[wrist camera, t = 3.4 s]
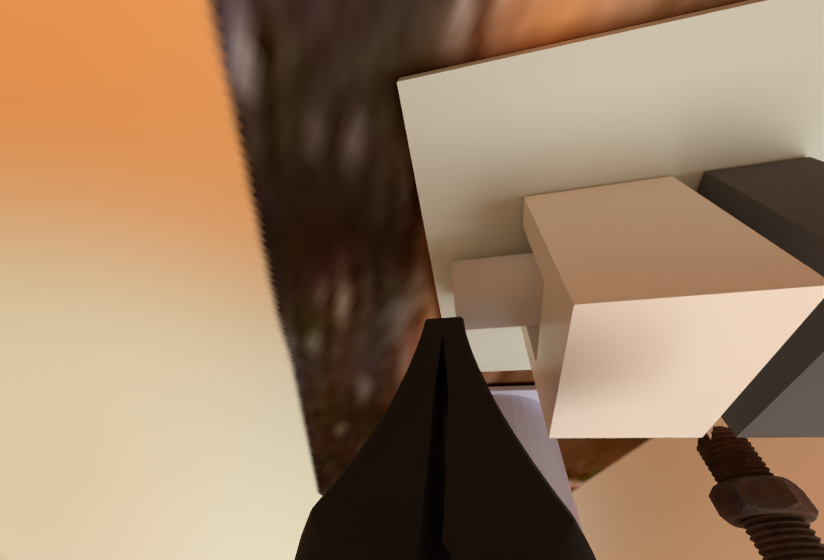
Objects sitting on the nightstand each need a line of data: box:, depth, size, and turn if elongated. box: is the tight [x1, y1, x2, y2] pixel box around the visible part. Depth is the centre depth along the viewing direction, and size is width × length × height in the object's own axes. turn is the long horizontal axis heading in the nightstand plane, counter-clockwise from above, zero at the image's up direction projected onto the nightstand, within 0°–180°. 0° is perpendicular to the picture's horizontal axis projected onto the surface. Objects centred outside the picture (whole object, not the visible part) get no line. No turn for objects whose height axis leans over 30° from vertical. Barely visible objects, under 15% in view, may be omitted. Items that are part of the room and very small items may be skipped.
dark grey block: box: [697, 157, 824, 438], centre depth 10 cm, size 7×3×6 cm, turn 11°
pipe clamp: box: [397, 0, 824, 372], centre depth 11 cm, size 16×26×6 cm, turn 101°
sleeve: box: [521, 176, 824, 438], centre depth 11 cm, size 7×5×6 cm
